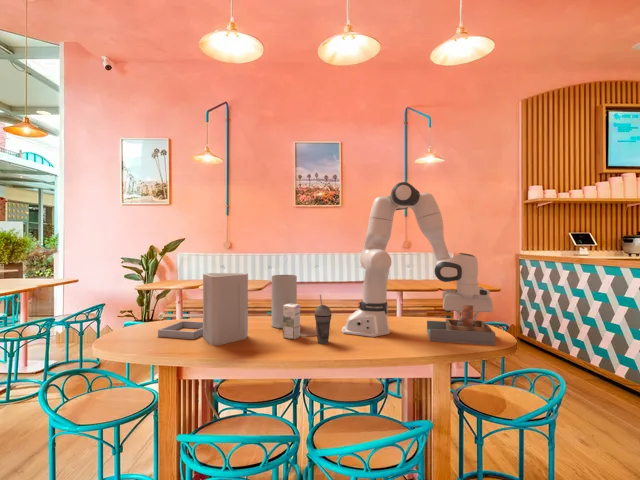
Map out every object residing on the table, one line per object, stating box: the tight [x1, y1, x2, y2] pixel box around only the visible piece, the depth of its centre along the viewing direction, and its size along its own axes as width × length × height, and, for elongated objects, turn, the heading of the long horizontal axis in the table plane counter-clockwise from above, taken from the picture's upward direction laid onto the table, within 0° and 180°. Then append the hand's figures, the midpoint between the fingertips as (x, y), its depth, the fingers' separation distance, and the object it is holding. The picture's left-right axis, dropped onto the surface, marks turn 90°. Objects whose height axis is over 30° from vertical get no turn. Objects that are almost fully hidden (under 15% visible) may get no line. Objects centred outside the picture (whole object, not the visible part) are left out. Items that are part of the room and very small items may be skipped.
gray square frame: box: [157, 320, 203, 340], centre depth 159 cm, size 18×18×3 cm
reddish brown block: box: [461, 305, 474, 326], centre depth 152 cm, size 4×4×12 cm
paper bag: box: [202, 272, 249, 346], centre depth 148 cm, size 19×15×28 cm
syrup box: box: [282, 303, 301, 340], centre depth 152 cm, size 6×6×14 cm
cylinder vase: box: [271, 274, 298, 329], centre depth 173 cm, size 12×12×25 cm
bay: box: [426, 320, 496, 346], centre depth 153 cm, size 26×17×5 cm
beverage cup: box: [314, 294, 333, 345], centre depth 145 cm, size 7×7×20 cm
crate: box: [445, 318, 492, 332], centre depth 152 cm, size 16×14×5 cm
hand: (467, 321), depth 152 cm, fingers closed on reddish brown block, 4 cm apart
